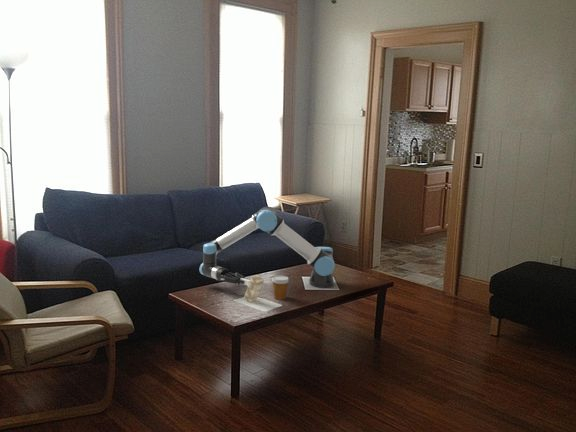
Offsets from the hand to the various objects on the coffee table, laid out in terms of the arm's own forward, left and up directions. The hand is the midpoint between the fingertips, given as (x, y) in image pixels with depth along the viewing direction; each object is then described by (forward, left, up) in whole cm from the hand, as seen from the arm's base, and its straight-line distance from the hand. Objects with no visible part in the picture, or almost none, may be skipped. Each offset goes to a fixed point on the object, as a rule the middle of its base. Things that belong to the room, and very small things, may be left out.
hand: (249, 283), depth 288 cm
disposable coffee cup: (-15, -10, -11) cm, 21 cm away
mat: (-5, +2, -10) cm, 12 cm away
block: (0, -1, -9) cm, 9 cm away
